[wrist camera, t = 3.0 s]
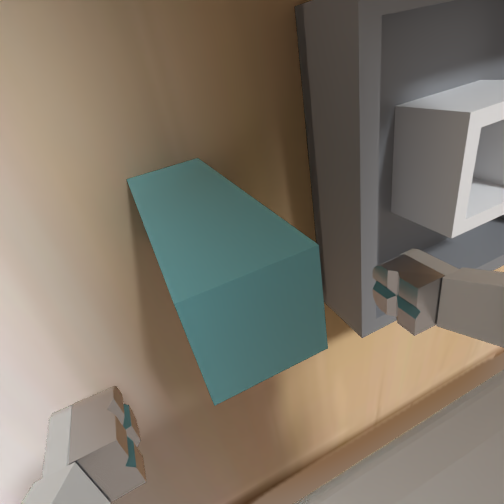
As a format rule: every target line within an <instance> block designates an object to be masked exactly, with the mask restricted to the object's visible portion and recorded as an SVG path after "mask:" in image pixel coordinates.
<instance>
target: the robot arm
mask: <svg viewBox="0 0 504 504" xmlns="http://www.w3.org/2000/svg"><path fill="white" fill-rule="evenodd" d="M372 278H373V279H375V280H376V283H375V285H374V287H373V298H374V300H375V303H376V305H377V306H378V307H379V308H380V310H381V311H383V312H384V313H385V314H386V315H390V316H395V317H396V319H397V323H398V324H399V325H401V326H402V327H403V328H405V329H406V330H407V331H409V332H410V333H411V334H413V335H414V336H415V335H417V334H419V333H421V332H423V331H425V330H427V329H429V328H431V327H433V326H435V325H437V326H438V327H441V328H444V329H447V330H450V331H453V332H456V333H460V334H463V335H466V336H469V337H472V338H475V339H478V340H481V341H485V342H488V343H491V344H494V345H497V346H500V347H503V348H504V272H497V271H489V270H480V269H472V268H464V267H463V268H461V269H458V268H456V267H454V266H452V265H450V264H448V263H446V262H443V261H441V260H439V259H437V258H435V257H433V256H431V255H429V254H427V253H425V252H423V251H421V250H419V249H410V250H408V251H406V252H404V253H402V254H400V255H399V256H396V257H394V258H392V259H390V260H388V261H385V262H383V263H381V264H379V265H377V266H375V267H374V269H373V276H372ZM140 441H141V439H140V433H139V428H138V425H137V421H136V418H135V416H134V414H133V411H132V410H131V408H130V406H129V405H126V404H123V397H122V393H121V392H120V391H119V389H118V388H117V387H116V386H113V387H111V388H109V389H106V390H104V391H102V392H99V393H97V394H95V395H92V396H90V397H88V398H85V399H83V400H81V401H78V402H76V403H74V404H73V405H71V406H68V407H66V408H63V409H61V410H59V411H56V412H54V413H52V415H51V417H50V419H49V424H48V431H47V439H46V447H45V455H44V463H43V471H42V478H41V479H40V480H38V481H36V482H34V484H33V485H32V487H31V488H30V490H29V492H28V493H27V495H26V496H25V498H24V499H23V501H22V502H21V504H111V502H113V501H115V500H116V499H118V498H120V497H122V496H123V495H125V494H127V493H128V492H130V491H132V490H134V489H135V488H137V487H139V486H141V485H142V484H144V483H146V475H145V468H144V460H143V456H142V454H141V453H140V451H139V450H138V448H137V447H138V445H139V443H140ZM293 504H504V370H502V371H501V372H499V373H498V374H496V375H494V376H493V377H491V378H490V379H488V380H487V381H485V382H483V383H482V384H480V385H479V386H477V387H476V388H474V389H473V390H471V391H469V392H468V393H466V394H465V395H463V396H461V397H460V398H458V399H457V400H455V401H454V402H452V403H450V404H449V405H447V406H446V407H444V408H443V409H441V410H439V411H438V412H436V413H435V414H433V415H432V416H430V417H428V418H427V419H425V420H424V421H422V422H421V423H419V424H417V425H416V426H414V427H413V428H411V429H410V430H408V431H406V432H405V433H403V434H402V435H400V436H399V437H397V438H395V439H394V440H392V441H391V442H389V443H388V444H386V445H384V446H383V447H381V448H380V449H378V450H377V451H375V452H373V453H372V454H371V455H369V456H367V457H366V458H364V459H363V460H361V461H359V462H358V463H356V464H355V465H353V466H351V467H350V468H348V469H347V470H345V471H344V472H342V473H341V474H339V475H337V476H336V477H335V478H333V479H331V480H330V481H328V482H326V483H325V484H323V485H322V486H320V487H319V488H317V489H315V490H314V491H312V492H311V493H309V494H308V495H306V496H304V497H303V498H301V499H300V500H298V501H297V502H295V503H293Z"/></svg>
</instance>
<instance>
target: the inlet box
mask: <svg viewBox="0 0 504 504" xmlns="http://www.w3.org/2000/svg"><path fill="white" fill-rule="evenodd" d="M295 15H296V26H297V37H298V48H299V59H300V69H301V80H302V91H303V102H304V113H305V123H306V134H307V145H308V156H309V167H310V178H311V188H312V199H313V210H314V221H315V232H316V243H317V244H318V245H319V254H320V265H321V277H322V288H323V299H324V303H326V304H327V305H328V306H329V307H330V308H331V309H332V310H333V311H334V312H335V313H336V314H337V315H338V316H339V317H340V318H341V319H342V320H343V321H345V322H346V323H347V324H348V325H349V326H350V327H351V328H352V329H353V330H354V331H355V332H356V333H357V334H358V335H359V336H360V337H361V338H363V337H365V336H367V335H369V334H371V333H373V332H375V331H377V330H379V329H381V328H383V327H384V326H386V325H388V324H390V323H392V322H394V321H396V320H397V319H396V317H395V316H390V315H386V314H385V313H384V312H383V311H381V310H380V308H379V307H378V306H377V305H376V303H375V300H374V298H373V287H374V285H375V283H376V280H375V279H373V278H372V276H373V269H374V267H375V266H377V265H379V264H381V263H383V262H385V261H388V260H390V259H392V258H394V257H396V256H399V255H400V254H402V253H404V252H406V251H408V250H410V249H419V250H421V251H423V252H425V253H427V254H429V255H431V256H433V257H435V258H437V259H439V260H441V261H443V262H446V263H448V264H450V265H452V266H454V267H456V268H458V269H461V268H463V267H464V268H472V269H480V270H489V271H493V270H495V269H497V268H499V267H501V266H503V265H504V0H312V1H309V2H306V3H303V4H300V5H298V6H295Z"/></svg>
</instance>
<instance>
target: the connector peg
mask: <svg viewBox="0 0 504 504" xmlns="http://www.w3.org/2000/svg"><path fill="white" fill-rule="evenodd" d="M127 182H128V184H129V187H130V190H131V192H132V195H133V198H134V200H135V203H136V206H137V208H138V211H139V213H140V216H141V219H142V221H143V224H144V227H145V229H146V232H147V235H148V237H149V240H150V242H151V245H152V248H153V250H154V253H155V256H156V258H157V261H158V263H159V266H160V269H161V271H162V274H163V277H164V279H165V282H166V285H167V287H168V290H169V292H170V295H171V298H172V300H173V303H174V306H175V308H176V311H177V313H178V316H179V318H180V321H181V323H182V326H183V328H184V331H185V333H186V336H187V338H188V341H189V343H190V346H191V348H192V351H193V353H194V356H195V358H196V361H197V363H198V366H199V368H200V371H201V373H202V376H203V378H204V381H205V383H206V386H207V388H208V391H209V393H210V396H211V398H212V401H213V403H214V406H215V405H217V404H219V403H221V402H223V401H225V400H227V399H229V398H231V397H233V396H235V395H237V394H239V393H241V392H243V391H245V390H247V389H249V388H251V387H253V386H254V385H256V384H258V383H260V382H262V381H264V380H266V379H268V378H270V377H272V376H274V375H276V374H278V373H280V372H282V371H284V370H286V369H288V368H290V367H292V366H294V365H296V364H298V363H300V362H302V361H304V360H306V359H308V358H310V357H311V356H313V355H315V354H317V353H319V352H321V351H323V350H325V349H327V348H328V344H327V333H326V322H325V310H324V299H323V288H322V277H321V265H320V254H319V245H318V244H317V243H315V242H314V241H313V240H311V239H310V238H308V237H307V236H306V235H304V234H303V233H302V232H300V231H299V230H297V229H296V228H295V227H293V226H292V225H290V224H289V223H288V222H286V221H285V220H283V219H282V218H281V217H279V216H278V215H276V214H275V213H274V212H272V211H271V210H270V209H268V208H267V207H265V206H264V205H263V204H261V203H260V202H258V201H257V200H256V199H254V198H253V197H251V196H250V195H249V194H247V193H246V192H244V191H243V190H242V189H240V188H239V187H238V186H236V185H235V184H233V183H232V182H231V181H229V180H228V179H226V178H225V177H224V176H222V175H221V174H219V173H218V172H217V171H215V170H214V169H213V168H211V167H210V166H208V165H207V164H206V163H204V162H203V161H201V160H200V159H199V158H196V159H193V160H190V161H186V162H183V163H179V164H176V165H173V166H169V167H166V168H163V169H159V170H156V171H153V172H149V173H146V174H143V175H139V176H136V177H133V178H129V179H127Z"/></svg>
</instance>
